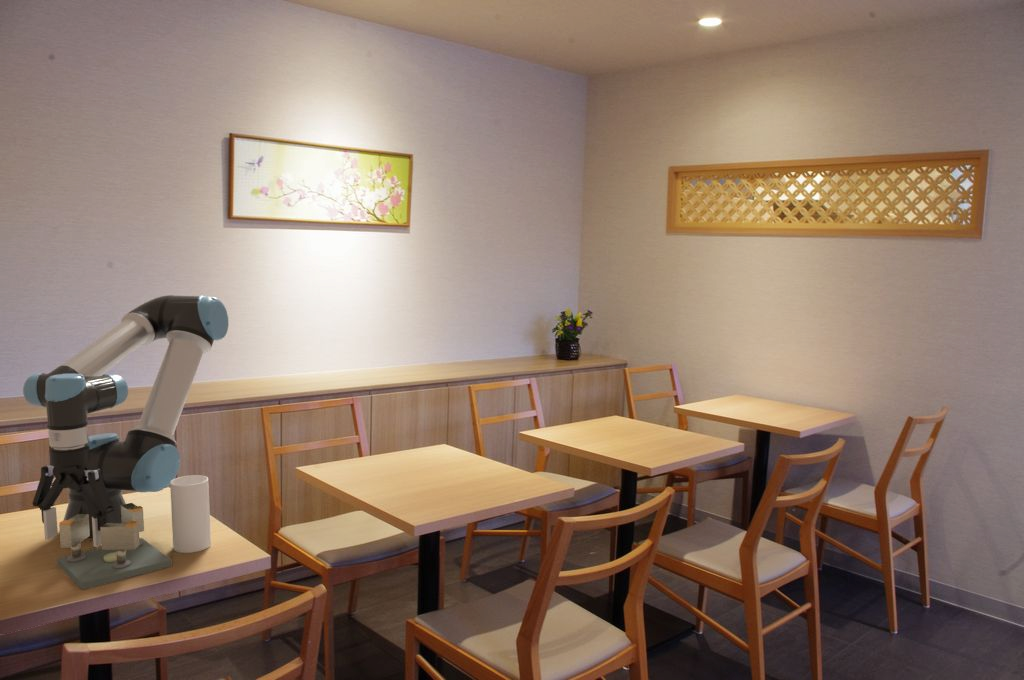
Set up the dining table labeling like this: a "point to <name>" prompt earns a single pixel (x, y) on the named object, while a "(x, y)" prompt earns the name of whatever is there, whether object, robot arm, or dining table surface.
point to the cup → (190, 513)
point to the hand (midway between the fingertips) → (75, 540)
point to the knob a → (74, 533)
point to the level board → (112, 565)
